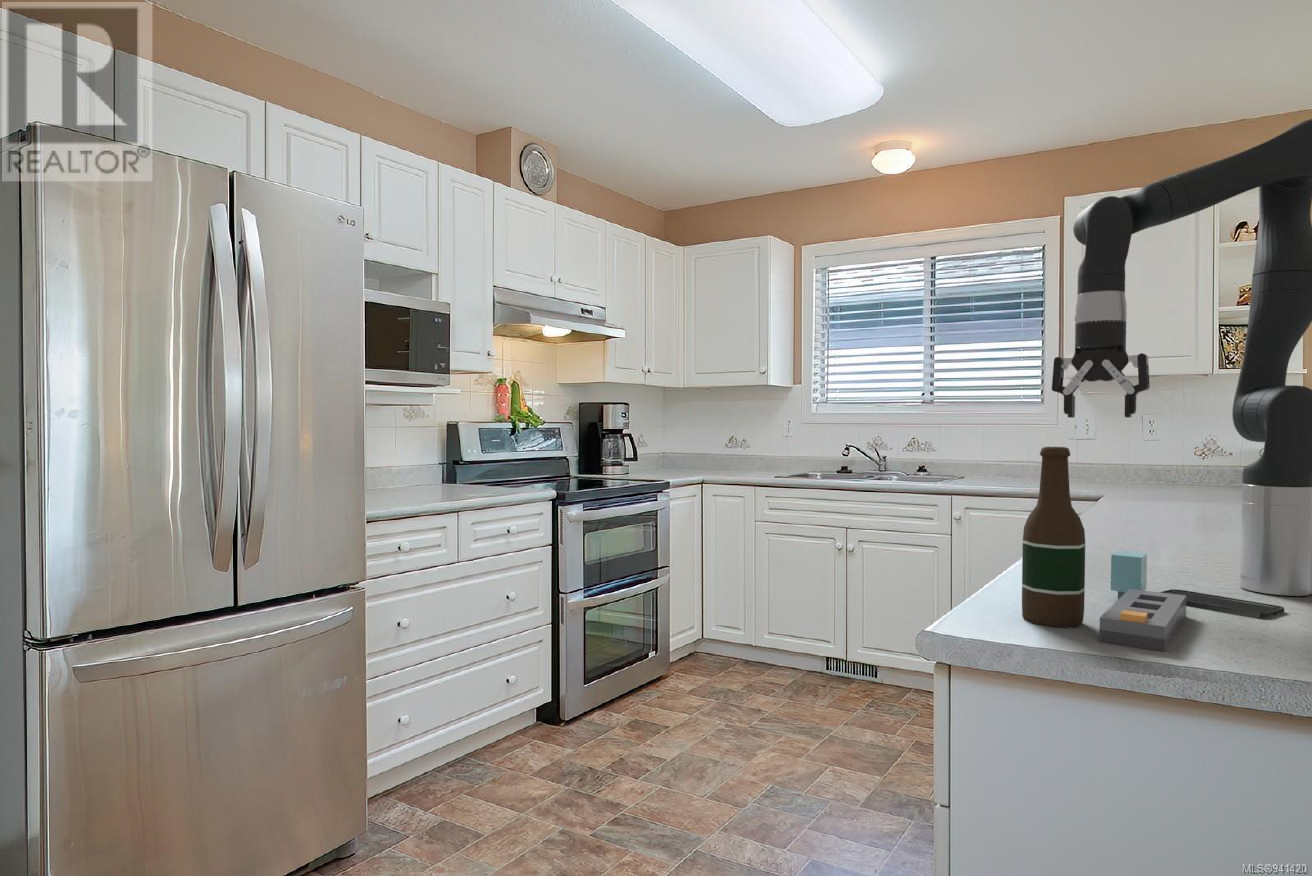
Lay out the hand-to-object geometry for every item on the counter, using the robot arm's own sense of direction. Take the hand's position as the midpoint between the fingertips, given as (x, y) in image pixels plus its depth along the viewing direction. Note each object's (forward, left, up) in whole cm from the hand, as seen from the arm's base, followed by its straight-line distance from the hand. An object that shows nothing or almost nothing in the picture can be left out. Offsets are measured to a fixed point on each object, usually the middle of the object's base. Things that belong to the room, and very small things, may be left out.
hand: (1098, 417), depth 136 cm
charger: (+2, +12, -28) cm, 31 cm away
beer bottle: (+20, +25, -28) cm, 43 cm away
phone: (-9, +16, -29) cm, 34 cm away
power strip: (+10, +29, -28) cm, 42 cm away
